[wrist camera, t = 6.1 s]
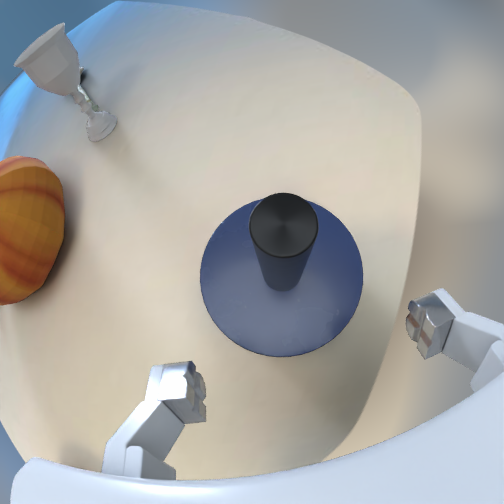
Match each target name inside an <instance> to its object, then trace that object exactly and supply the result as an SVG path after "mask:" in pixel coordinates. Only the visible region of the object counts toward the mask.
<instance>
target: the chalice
mask: <svg viewBox="0 0 504 504" xmlns="http://www.w3.org/2000/svg"><path fill="white" fill-rule="evenodd" d="M14 66H16V67H20V68H22V69H23V70H24V71H25V72H26V74H27V75H28V76H29V77H30V78H31V80H32V81H33V82H34V83H35V84H36V86H37V87H39V88H42V89H44V90H46V91H48V92H51V93H55V94H58V95H62V96H66V95H68V94H71V95H72V96H73V97H74V99H75V104H79V105H80V106H81V108H82V109H81V112H82V113H83V112H85V113H86V114H88V116H89V119H88V121H87V126H86V129H87V133H88V134H89V139H90V141H99V140H101V139H103V138H105V137H106V136H107V135H108V134H110V133H111V131H112V130H113V129H114V127H115V125H116V123H117V118H116V116H114V115H111V114H110V113H107V112H106V111H98V112H94V111H93V110H92V107H91V106H92V103H88V102H86V100H85V95H82V94H81V93H80V92H78V89H77V87H78V86H79V84H80V64H79V59H78V53H77V51H76V49H75V48H74V46H73V45H72V43H71V42H70V40H69V39H68V37H67V35H66V34H65V32H64V23H61V24H59V25H57V26H55V27H53V28H52V29H50V30H49V31H47V32H46V33H44V34H43V35H42V36H40V37H39V38H38V39H37V40H36V41H34V42H33V43H32V44H31V45H30V46H29V47H28V48H27V49H26V50H25V51H24V52H23V53H22V54H21V55H20V56H19V58H18V59H17V60H16V62H15V64H14Z"/></svg>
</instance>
